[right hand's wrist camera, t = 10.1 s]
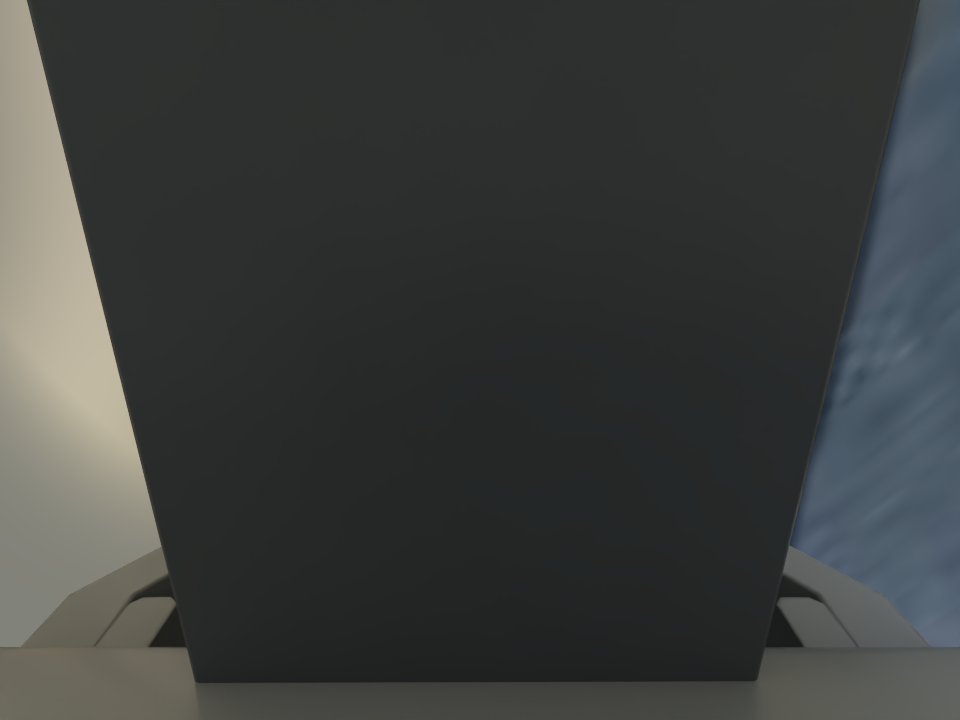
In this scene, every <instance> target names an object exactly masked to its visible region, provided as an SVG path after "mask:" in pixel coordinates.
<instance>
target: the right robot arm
mask: <svg viewBox="0 0 960 720" xmlns="http://www.w3.org/2000/svg"><path fill="white" fill-rule="evenodd" d="M0 720H960V647H931V646H930V645H929V644H928V643H927V642H926V641H925V640H924V638H923V637H922V636H921V635H920V634H919V633H918V632H917V631H916V630H915V629H914V627H913V626H912V625H911V624H910V623H909V622H908V621H907V620H906V619H905V618H904V616H903V615H902V614H901V613H900V612H899V611H898V610H897V609H896V608H895V607H894V606H893V604H892V603H891V602H890V601H889V600H888V599H887V598H886V597H885V596H884V595H882V594H880V593H879V592H877V591H875V590H873V589H871V588H869V587H867V586H865V585H863V584H861V583H860V582H858V581H856V580H854V579H852V578H850V577H848V576H846V575H844V574H843V573H841V572H839V571H837V570H835V569H833V568H831V567H829V566H827V565H826V564H824V563H822V562H820V561H818V560H816V559H814V558H812V557H810V556H809V555H807V554H805V553H803V552H801V551H799V550H797V549H795V548H793V547H792V546H790V545H789V549H788V553H787V558H786V562H785V566H784V570H783V574H782V578H781V583H780V587H779V591H778V595H777V599H776V604H775V608H774V612H773V616H772V620H771V624H770V629H769V633H768V637H767V641H766V645H765V649H764V654H763V658H762V662H761V666H760V670H759V675H758V679H757V680H756V681H683V682H372V683H197V682H195V680H194V676H193V672H192V668H191V663H190V659H189V655H188V651H187V647H186V643H185V639H184V635H183V631H182V627H181V623H180V619H179V615H178V611H177V607H176V603H175V599H174V595H173V590H172V586H171V582H170V578H169V574H168V570H167V566H166V562H165V558H164V554H163V550H162V547H160V548H158V549H156V550H154V551H153V552H151V553H149V554H147V555H145V556H143V557H141V558H139V559H137V560H135V561H133V562H131V563H130V564H128V565H126V566H124V567H122V568H120V569H118V570H116V571H114V572H112V573H110V574H108V575H106V576H105V577H103V578H101V579H99V580H97V581H95V582H93V583H91V584H89V585H87V586H85V587H84V588H82V589H80V590H78V591H76V592H74V593H72V594H70V595H69V596H68V597H67V598H66V599H65V600H64V601H63V602H62V603H61V604H60V606H59V607H58V608H57V609H56V610H55V611H54V612H53V613H52V614H51V615H50V616H49V617H48V618H47V619H46V621H45V622H44V623H43V624H42V625H41V626H40V627H39V628H38V629H37V630H36V631H35V632H34V633H33V634H32V636H31V637H30V638H29V639H28V640H27V641H26V642H25V643H24V644H23V645H22V646H21V647H0Z"/></svg>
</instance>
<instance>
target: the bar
mask: <svg viewBox="0 0 960 720" xmlns="http://www.w3.org/2000/svg"><path fill="white" fill-rule="evenodd" d="M27 2H28V6H29V10H30V15H31V19H32V23H33V27H34V31H35V35H36V39H37V43H38V47H39V51H40V55H41V59H42V63H43V67H44V71H45V75H46V79H47V84H48V87H49V92H50V96H51V100H52V104H53V108H54V112H55V116H56V120H57V124H58V128H59V132H60V136H61V140H62V144H63V148H64V152H65V157H66V161H67V165H68V169H69V173H70V177H71V181H72V185H73V189H74V193H75V197H76V201H77V205H78V209H79V213H80V217H81V221H82V225H83V230H84V234H85V238H86V242H87V246H88V250H89V254H90V258H91V262H92V266H93V270H94V274H95V278H96V282H97V286H98V290H99V294H100V298H101V302H102V307H103V311H104V315H105V319H106V323H107V327H108V331H109V335H110V339H111V343H112V347H113V351H114V355H115V359H116V363H117V367H118V371H119V376H120V379H121V383H122V387H123V392H124V396H125V400H126V404H127V408H128V412H129V416H130V420H131V424H132V428H133V432H134V436H135V440H136V444H137V448H138V453H139V457H140V461H141V465H142V469H143V473H144V477H145V481H146V485H147V489H148V493H149V497H150V501H151V505H152V509H153V513H154V517H155V522H156V525H157V530H158V534H159V538H160V542H161V546H162V550H163V554H164V558H165V562H166V566H167V570H168V574H169V578H170V582H171V586H172V590H173V595H174V599H175V603H176V607H177V611H178V615H179V619H180V623H181V627H182V631H183V635H184V639H185V643H186V647H187V651H188V655H189V659H190V663H191V668H192V672H193V676H194V680H195V682H197V683H372V682H683V681H756V680H757V679H758V675H759V670H760V666H761V662H762V658H763V654H764V649H765V645H766V641H767V637H768V633H769V629H770V624H771V620H772V616H773V612H774V608H775V604H776V599H777V595H778V591H779V587H780V583H781V578H782V574H783V570H784V566H785V562H786V558H787V553H788V549H789V545H790V541H791V537H792V533H793V528H794V524H795V520H796V516H797V512H798V507H799V503H800V499H801V495H802V491H803V487H804V482H805V478H806V474H807V470H808V466H809V462H810V457H811V453H812V449H813V445H814V441H815V436H816V432H817V428H818V424H819V420H820V416H821V411H822V407H823V403H824V399H825V395H826V390H827V386H828V382H829V378H830V374H831V370H832V365H833V361H834V357H835V353H836V349H837V345H838V340H839V336H840V332H841V328H842V324H843V319H844V315H845V311H846V307H847V303H848V299H849V294H850V290H851V286H852V282H853V278H854V274H855V269H856V265H857V261H858V257H859V253H860V248H861V244H862V240H863V236H864V232H865V228H866V223H867V219H868V215H869V211H870V207H871V202H872V198H873V194H874V190H875V186H876V182H877V177H878V173H879V169H880V165H881V161H882V157H883V152H884V148H885V144H886V140H887V136H888V131H889V127H890V123H891V119H892V115H893V111H894V106H895V102H896V98H897V94H898V90H899V86H900V81H901V77H902V73H903V69H904V65H905V60H906V56H907V52H908V48H909V44H910V40H911V35H912V31H913V27H914V23H915V19H916V14H917V10H918V6H919V2H920V0H27Z"/></svg>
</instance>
